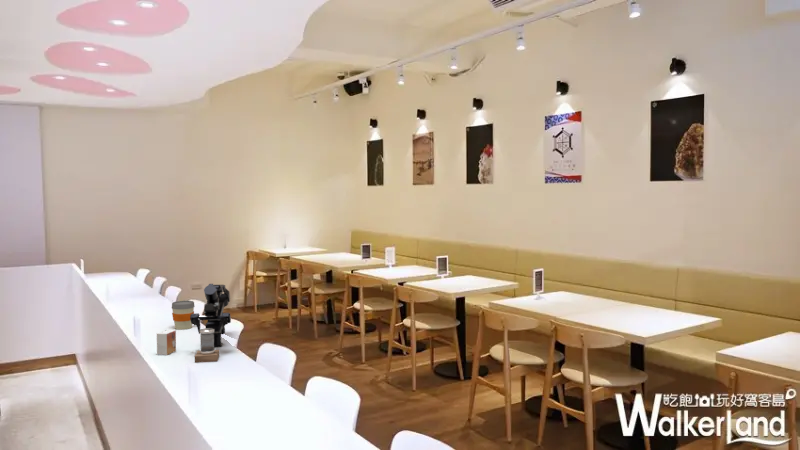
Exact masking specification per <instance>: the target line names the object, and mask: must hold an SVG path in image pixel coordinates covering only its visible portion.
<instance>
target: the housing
mask: <svg viewBox="0 0 800 450" xmlns="http://www.w3.org/2000/svg"><path fill="white" fill-rule="evenodd" d="M199 335H200V337H199V339H200V349H199V350H200V354H203V355H208V354H213V353H215V350H216V349H215V347H214V329H213V328H206V327H205V328H200V334H199Z"/></svg>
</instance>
